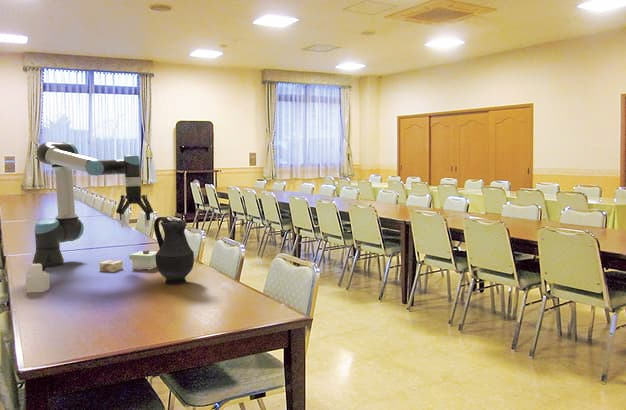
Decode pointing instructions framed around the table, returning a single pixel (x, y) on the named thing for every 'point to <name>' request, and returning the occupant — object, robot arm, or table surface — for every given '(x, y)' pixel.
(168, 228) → the pitcher
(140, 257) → the lid
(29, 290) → the medicine bottle
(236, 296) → the table surface
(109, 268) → the stand
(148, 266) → the dish
